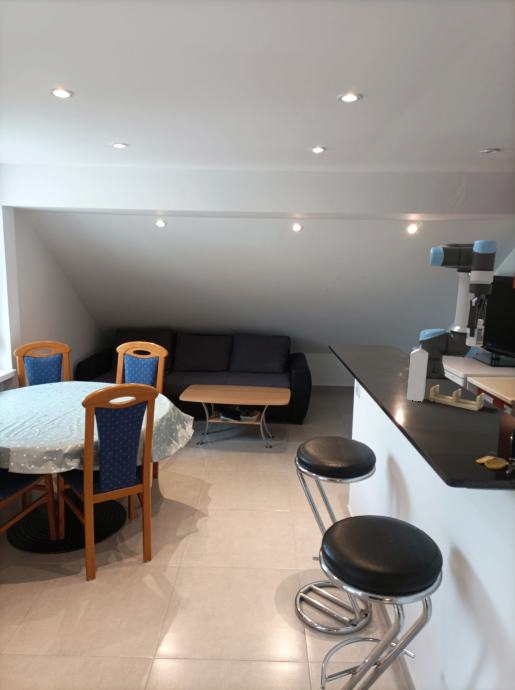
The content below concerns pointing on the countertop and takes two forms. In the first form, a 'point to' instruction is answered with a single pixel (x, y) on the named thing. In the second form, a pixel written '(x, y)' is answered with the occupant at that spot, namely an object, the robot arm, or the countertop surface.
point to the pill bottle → (478, 333)
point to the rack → (456, 399)
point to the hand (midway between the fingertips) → (474, 344)
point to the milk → (417, 375)
